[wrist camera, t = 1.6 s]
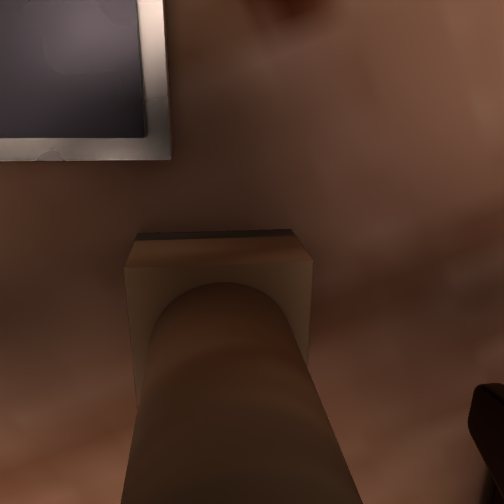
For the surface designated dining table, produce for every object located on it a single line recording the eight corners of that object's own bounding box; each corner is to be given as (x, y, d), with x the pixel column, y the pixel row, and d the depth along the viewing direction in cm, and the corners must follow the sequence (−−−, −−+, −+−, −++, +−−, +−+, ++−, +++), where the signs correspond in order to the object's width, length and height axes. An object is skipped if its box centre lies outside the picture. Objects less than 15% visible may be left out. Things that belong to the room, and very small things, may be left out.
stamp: (290, 229, 12) (429, 424, 5) (285, 357, 13) (387, 655, 6) (137, 233, 11) (46, 455, 4) (148, 366, 13) (92, 698, 6)
